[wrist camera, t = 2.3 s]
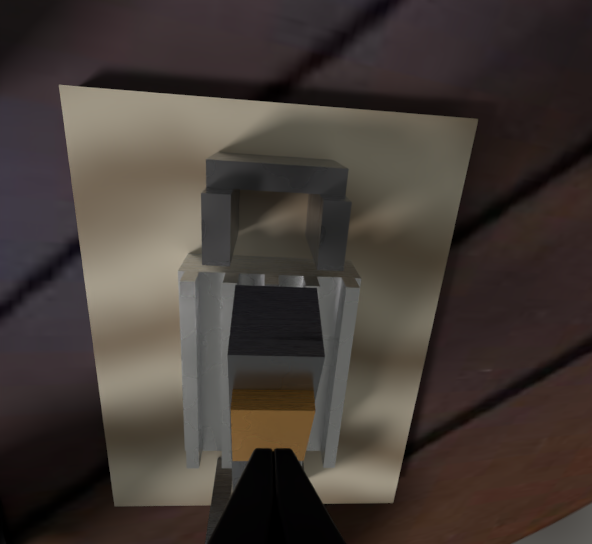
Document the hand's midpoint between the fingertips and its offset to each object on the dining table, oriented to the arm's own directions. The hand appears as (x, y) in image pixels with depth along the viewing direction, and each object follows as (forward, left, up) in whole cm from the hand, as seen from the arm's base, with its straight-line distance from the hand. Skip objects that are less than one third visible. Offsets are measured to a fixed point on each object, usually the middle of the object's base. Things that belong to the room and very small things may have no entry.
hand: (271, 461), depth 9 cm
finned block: (-4, 0, -12) cm, 12 cm away
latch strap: (-5, 0, -7) cm, 8 cm away
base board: (-4, 0, -13) cm, 14 cm away
